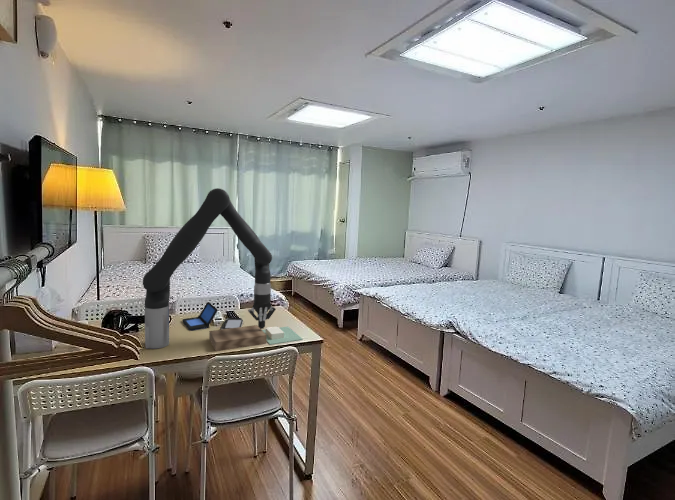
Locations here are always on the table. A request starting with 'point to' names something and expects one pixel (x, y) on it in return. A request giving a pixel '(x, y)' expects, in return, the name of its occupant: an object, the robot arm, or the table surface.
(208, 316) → the handheld game console
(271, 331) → the tile
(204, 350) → the table surface
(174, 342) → the table surface
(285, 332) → the mat
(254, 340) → the block
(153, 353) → the table surface
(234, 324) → the gaming console
